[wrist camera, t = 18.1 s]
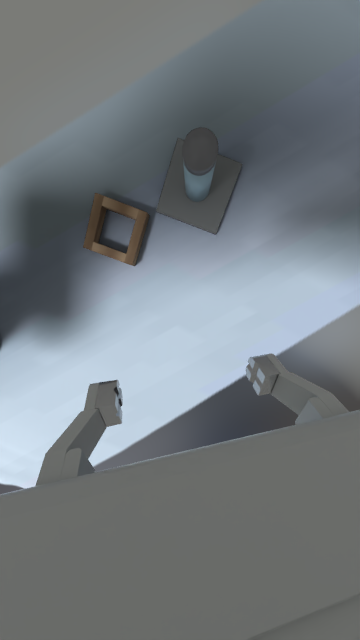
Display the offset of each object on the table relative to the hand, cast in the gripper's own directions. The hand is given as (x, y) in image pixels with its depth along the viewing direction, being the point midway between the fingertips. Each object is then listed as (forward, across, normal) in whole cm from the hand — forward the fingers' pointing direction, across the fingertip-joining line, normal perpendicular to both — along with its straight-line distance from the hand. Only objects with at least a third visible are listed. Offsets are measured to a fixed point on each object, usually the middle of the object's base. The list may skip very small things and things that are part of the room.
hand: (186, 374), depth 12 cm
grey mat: (+31, -9, -8) cm, 33 cm away
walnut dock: (+32, +5, -2) cm, 32 cm away
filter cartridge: (+30, -9, -9) cm, 33 cm away
